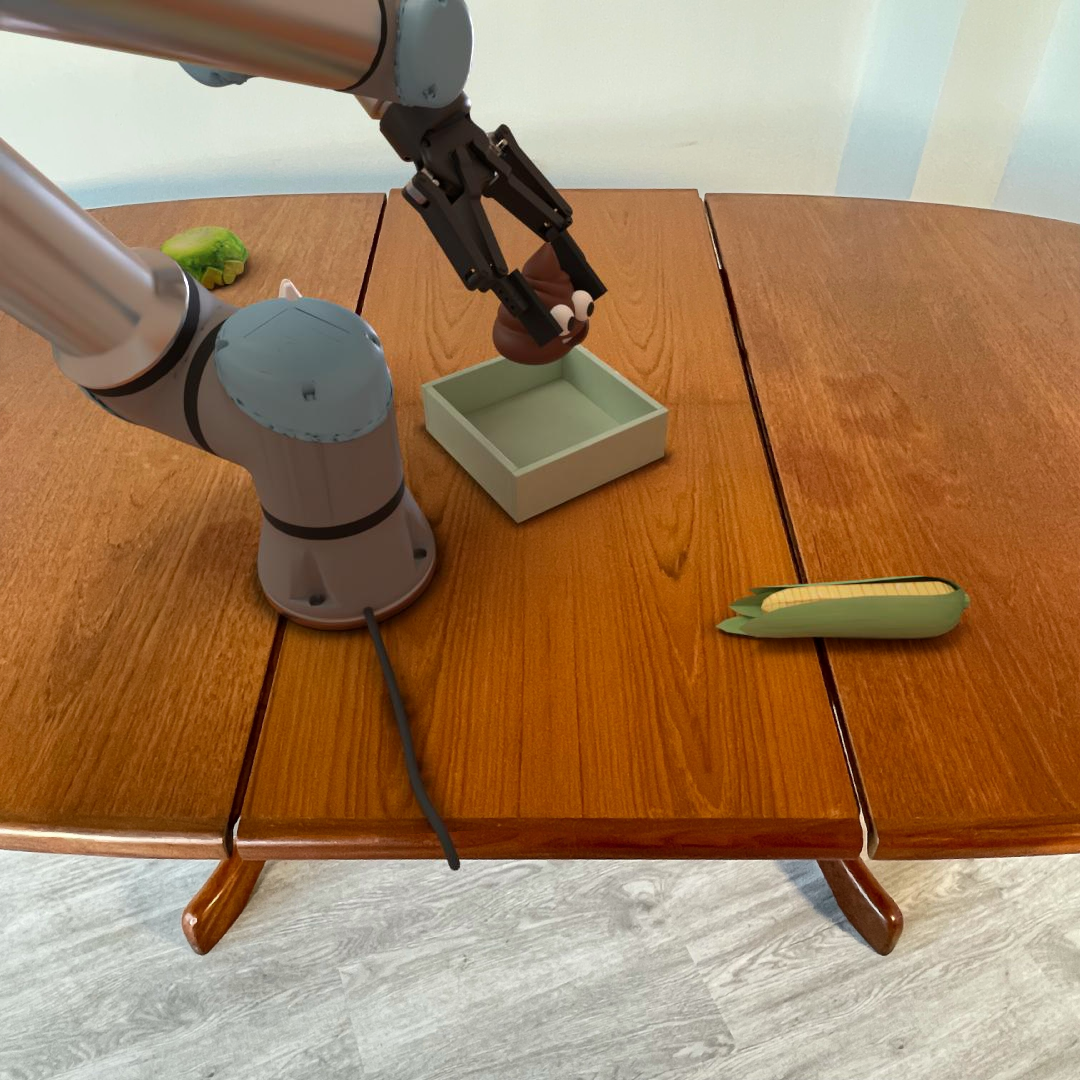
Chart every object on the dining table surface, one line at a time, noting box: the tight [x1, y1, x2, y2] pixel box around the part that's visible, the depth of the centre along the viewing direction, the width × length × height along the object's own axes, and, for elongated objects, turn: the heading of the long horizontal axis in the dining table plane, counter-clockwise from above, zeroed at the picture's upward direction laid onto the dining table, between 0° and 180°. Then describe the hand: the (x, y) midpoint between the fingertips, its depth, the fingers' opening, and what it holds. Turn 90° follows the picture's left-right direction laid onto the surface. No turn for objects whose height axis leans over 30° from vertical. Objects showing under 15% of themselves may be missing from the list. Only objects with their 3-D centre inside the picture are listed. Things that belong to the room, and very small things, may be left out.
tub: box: [420, 343, 670, 524], centre depth 88 cm, size 18×18×6 cm
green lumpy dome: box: [160, 225, 249, 290], centre depth 116 cm, size 12×11×5 cm
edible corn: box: [715, 575, 971, 640], centre depth 71 cm, size 5×20×5 cm, turn 92°
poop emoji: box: [491, 241, 595, 365], centre depth 79 cm, size 10×8×9 cm
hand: (574, 318), depth 78 cm, fingers closed on poop emoji, 7 cm apart
